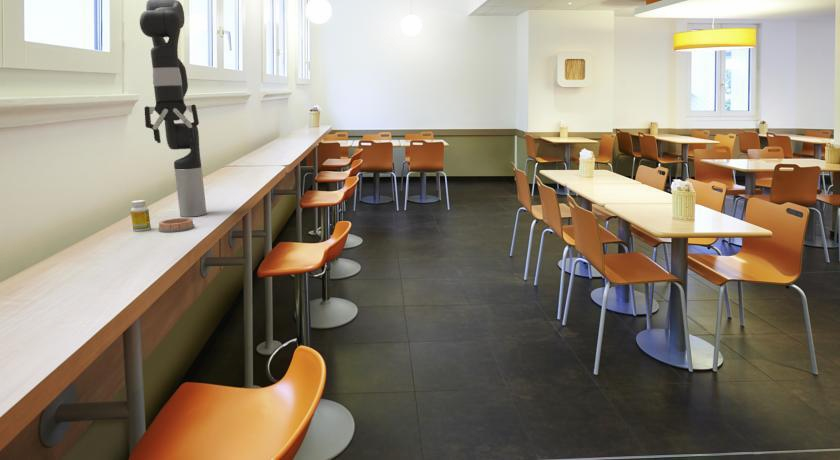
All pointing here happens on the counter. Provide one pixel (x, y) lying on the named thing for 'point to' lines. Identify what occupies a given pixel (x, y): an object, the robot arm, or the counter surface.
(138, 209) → the supplement bottle
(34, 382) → the counter surface
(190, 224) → the ring tray
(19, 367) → the counter surface
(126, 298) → the counter surface
